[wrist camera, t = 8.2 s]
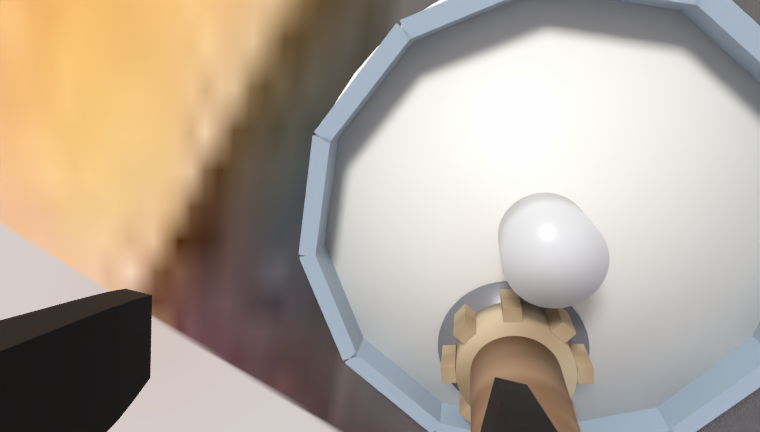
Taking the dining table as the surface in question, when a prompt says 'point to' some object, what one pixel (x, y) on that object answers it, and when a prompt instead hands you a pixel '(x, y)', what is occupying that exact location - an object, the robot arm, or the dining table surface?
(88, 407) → the robot arm
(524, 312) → the gear
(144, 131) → the dining table surface
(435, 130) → the carrier plate
